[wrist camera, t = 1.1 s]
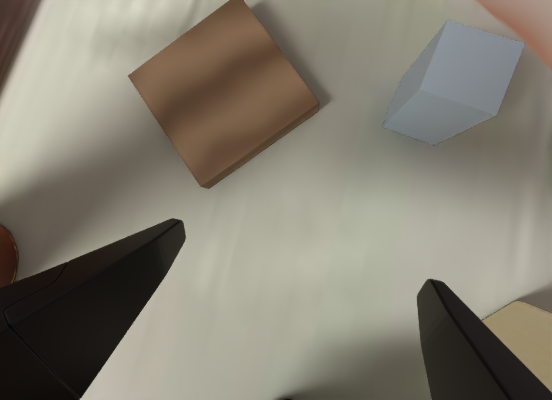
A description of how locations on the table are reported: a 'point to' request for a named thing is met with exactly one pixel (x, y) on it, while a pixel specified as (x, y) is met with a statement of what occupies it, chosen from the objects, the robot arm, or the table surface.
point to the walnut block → (223, 92)
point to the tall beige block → (526, 336)
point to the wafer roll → (7, 258)
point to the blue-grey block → (453, 83)
